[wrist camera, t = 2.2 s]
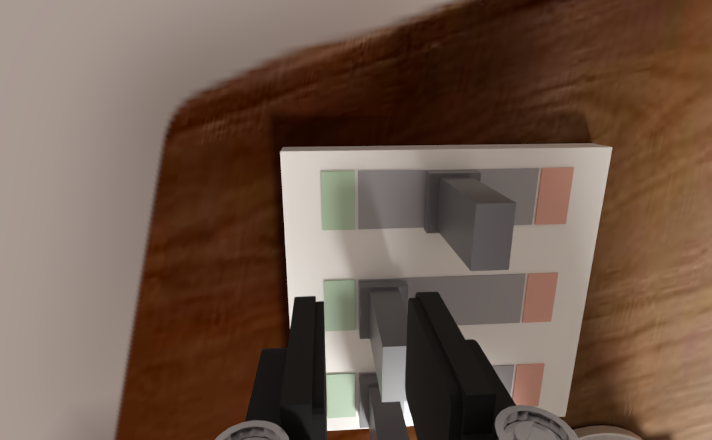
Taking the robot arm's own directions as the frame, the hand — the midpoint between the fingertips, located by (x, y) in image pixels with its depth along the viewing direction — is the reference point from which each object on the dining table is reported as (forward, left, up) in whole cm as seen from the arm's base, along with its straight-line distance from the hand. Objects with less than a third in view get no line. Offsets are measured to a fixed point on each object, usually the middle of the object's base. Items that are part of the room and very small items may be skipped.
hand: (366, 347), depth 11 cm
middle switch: (-2, +7, -15) cm, 17 cm away
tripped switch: (-6, 0, -15) cm, 16 cm away
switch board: (-7, +7, -17) cm, 20 cm away
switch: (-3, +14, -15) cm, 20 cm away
